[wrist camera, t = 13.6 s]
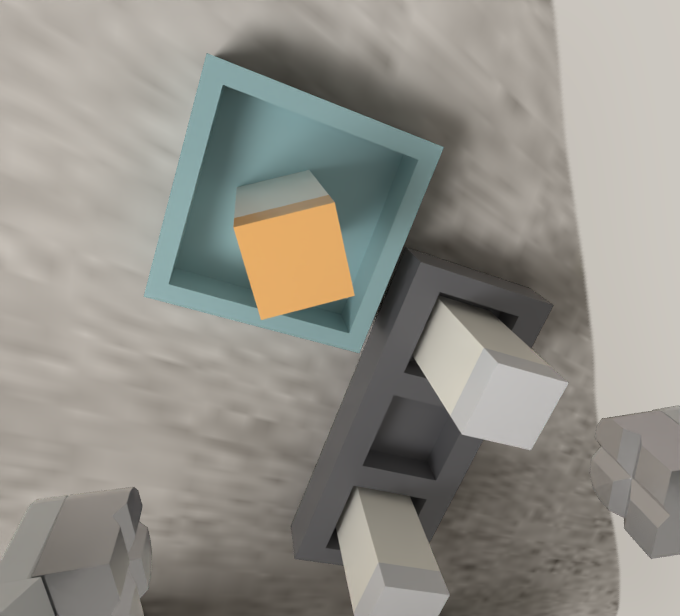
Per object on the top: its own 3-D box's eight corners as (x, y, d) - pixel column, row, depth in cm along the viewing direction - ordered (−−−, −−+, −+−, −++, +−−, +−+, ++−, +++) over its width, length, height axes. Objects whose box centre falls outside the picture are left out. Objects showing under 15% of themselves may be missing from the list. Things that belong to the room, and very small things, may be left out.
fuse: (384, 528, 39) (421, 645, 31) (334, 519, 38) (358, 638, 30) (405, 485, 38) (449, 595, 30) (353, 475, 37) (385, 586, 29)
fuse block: (401, 543, 41) (412, 575, 39) (291, 525, 39) (294, 558, 36) (529, 288, 35) (553, 305, 32) (405, 247, 32) (420, 262, 30)
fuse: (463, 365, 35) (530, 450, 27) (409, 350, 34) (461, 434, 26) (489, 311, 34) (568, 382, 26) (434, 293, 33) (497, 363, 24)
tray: (348, 328, 34) (359, 353, 31) (154, 274, 30) (143, 296, 27) (422, 140, 30) (443, 147, 27) (211, 57, 27) (206, 53, 24)
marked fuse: (325, 239, 30) (354, 295, 22) (256, 257, 30) (260, 319, 22) (309, 169, 29) (334, 202, 21) (236, 187, 29) (233, 227, 20)
